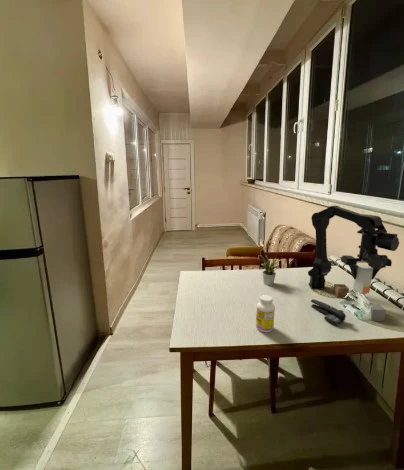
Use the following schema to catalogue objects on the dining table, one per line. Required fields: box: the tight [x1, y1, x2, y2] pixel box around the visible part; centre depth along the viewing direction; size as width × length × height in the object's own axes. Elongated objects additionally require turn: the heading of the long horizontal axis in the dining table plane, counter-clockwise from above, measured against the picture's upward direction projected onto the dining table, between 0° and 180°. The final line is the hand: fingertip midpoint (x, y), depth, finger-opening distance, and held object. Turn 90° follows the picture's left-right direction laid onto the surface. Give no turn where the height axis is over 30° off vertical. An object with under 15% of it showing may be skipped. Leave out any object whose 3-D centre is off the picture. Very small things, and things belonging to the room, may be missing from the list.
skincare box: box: [352, 265, 373, 296], centre depth 117 cm, size 6×4×12 cm
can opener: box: [310, 299, 347, 326], centre depth 111 cm, size 18×7×6 cm, turn 17°
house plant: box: [256, 255, 283, 286], centre depth 143 cm, size 14×14×16 cm
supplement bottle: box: [255, 294, 276, 333], centre depth 101 cm, size 7×7×13 cm
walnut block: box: [332, 283, 350, 299], centre depth 129 cm, size 5×5×5 cm
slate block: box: [370, 303, 387, 322], centre depth 110 cm, size 5×5×5 cm
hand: (363, 279), depth 117 cm, fingers closed on skincare box, 7 cm apart
